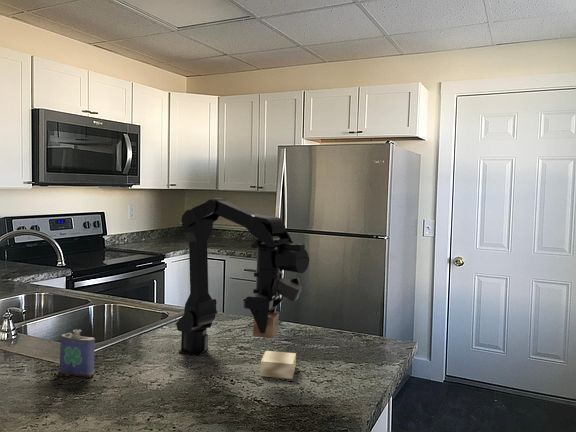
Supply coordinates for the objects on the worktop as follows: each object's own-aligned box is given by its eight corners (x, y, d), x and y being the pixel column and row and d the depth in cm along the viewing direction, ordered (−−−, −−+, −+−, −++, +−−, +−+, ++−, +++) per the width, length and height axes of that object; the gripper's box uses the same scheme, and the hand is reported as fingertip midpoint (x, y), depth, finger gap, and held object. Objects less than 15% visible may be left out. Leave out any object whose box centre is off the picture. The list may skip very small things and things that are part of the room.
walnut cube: (252, 336, 120) (253, 315, 119) (258, 330, 125) (259, 311, 124) (272, 338, 119) (273, 317, 118) (277, 332, 123) (278, 313, 123)
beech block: (260, 377, 121) (260, 361, 121) (265, 365, 129) (265, 350, 129) (292, 379, 120) (292, 364, 120) (295, 368, 128) (296, 353, 128)
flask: (96, 374, 117) (97, 330, 117) (88, 378, 115) (89, 333, 114) (64, 368, 120) (64, 325, 119) (55, 372, 117) (56, 328, 116)
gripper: (291, 276, 110) (288, 344, 111) (307, 265, 128) (304, 323, 129) (244, 272, 112) (241, 339, 113) (266, 262, 131) (264, 319, 131)
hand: (265, 330), depth 122 cm, fingers closed on walnut cube, 5 cm apart
